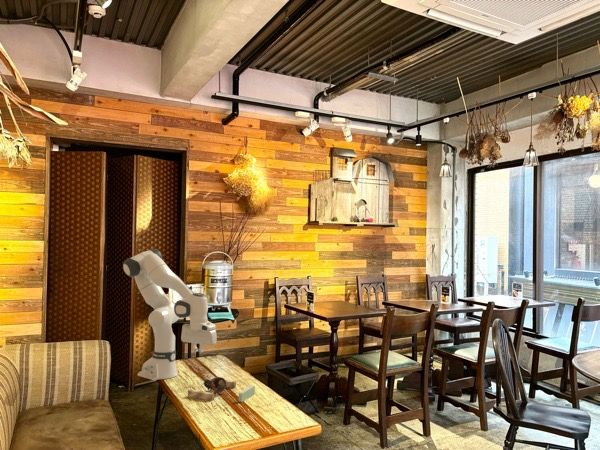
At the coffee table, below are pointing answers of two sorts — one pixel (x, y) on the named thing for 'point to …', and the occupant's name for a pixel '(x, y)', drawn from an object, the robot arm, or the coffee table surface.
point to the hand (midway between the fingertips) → (198, 351)
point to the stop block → (246, 393)
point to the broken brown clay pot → (215, 384)
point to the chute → (206, 394)
